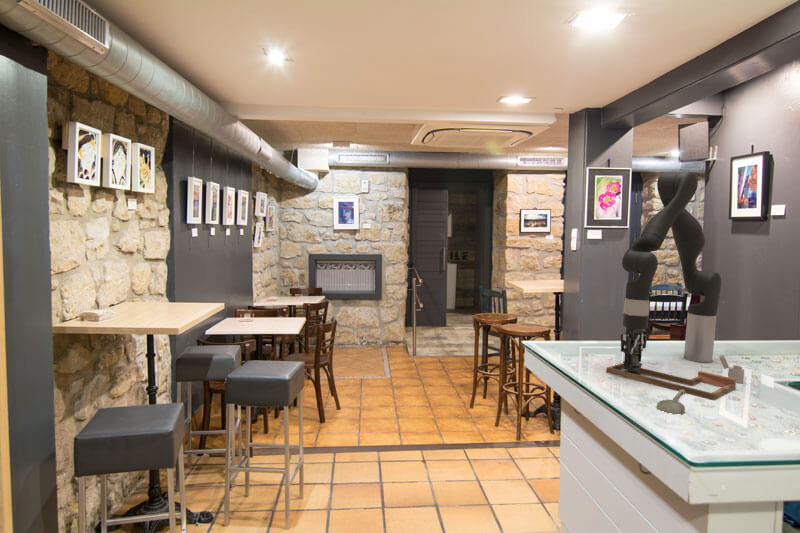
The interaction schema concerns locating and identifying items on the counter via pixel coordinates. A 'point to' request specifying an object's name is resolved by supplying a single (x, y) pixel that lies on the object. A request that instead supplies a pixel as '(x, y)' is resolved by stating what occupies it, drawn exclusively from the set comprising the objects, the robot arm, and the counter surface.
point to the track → (680, 381)
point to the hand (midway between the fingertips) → (632, 363)
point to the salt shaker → (634, 362)
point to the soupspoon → (672, 405)
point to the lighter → (733, 370)
